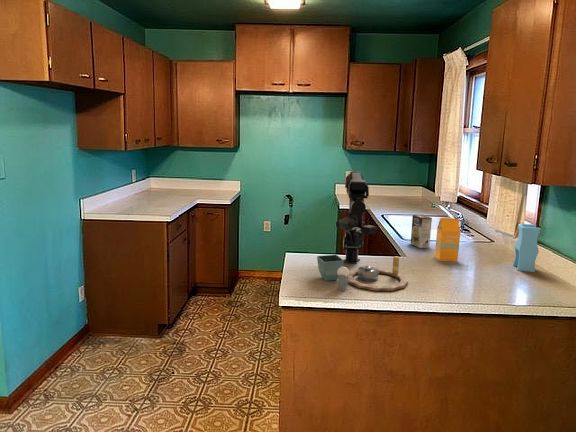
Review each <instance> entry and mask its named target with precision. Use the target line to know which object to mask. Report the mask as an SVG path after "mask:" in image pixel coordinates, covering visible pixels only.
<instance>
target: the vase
mask: <svg viewBox="0 0 576 432" xmlns="http://www.w3.org/2000/svg"><path fill="white" fill-rule="evenodd" d="M517 225H518V237H517V240H516V241H515V244H514V254H515V255H514V260H513V263H512V267H517V268H516V271H520V272H530V273H531V272H532V273H533V272H535V273H536V259H537V256H538V255H539V253H540V252H539V245H538V237H539V235H540V232H541V230H542V228H541V227H537V224H534V223H533V224H531V223H530V224H529V223H518V224H517Z"/></svg>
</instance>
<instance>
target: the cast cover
mask: <svg viewBox="0 0 576 432" xmlns="http://www.w3.org/2000/svg"><path fill="white" fill-rule="evenodd" d="M378 269H379V268H377V267H374V266H372V265H364V266H359V267H358V268H357V270H358V274H357V279H359V280H360V281H364V282H367V283H370V282H377V281H378V280H379V274H380V273H379V270H378Z"/></svg>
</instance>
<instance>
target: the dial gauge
mask: <svg viewBox="0 0 576 432" xmlns="http://www.w3.org/2000/svg"><path fill="white" fill-rule="evenodd" d="M349 272H350V270H349V269H348V267H345V266H343V267H340V268H339V269H338V270H337V274H338V279H337V290H338V291H343V292H346V291H347V290H348V287H349V283H348V275H349Z"/></svg>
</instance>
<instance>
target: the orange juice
mask: <svg viewBox="0 0 576 432" xmlns="http://www.w3.org/2000/svg"><path fill="white" fill-rule="evenodd" d="M460 239H461V226H460V219H459V218H456V217H455V218H453V217H450V218H448V217H446V218H445V217H444V218H443V217H441V218H439V221H438V225H437V229H436V239H435V249H434V250H435V251H434V252H435V253H434V257H435V258H436V259H437V260H438V261H439V262H441V261H442V262H459V261H458V259H459V251H460V241H461V240H460Z"/></svg>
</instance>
